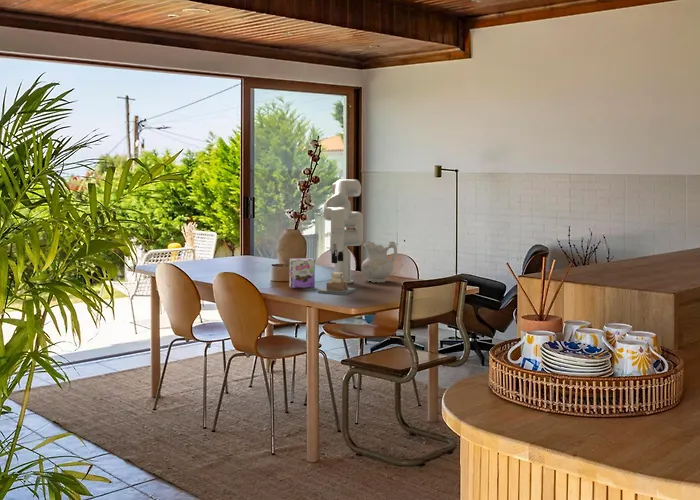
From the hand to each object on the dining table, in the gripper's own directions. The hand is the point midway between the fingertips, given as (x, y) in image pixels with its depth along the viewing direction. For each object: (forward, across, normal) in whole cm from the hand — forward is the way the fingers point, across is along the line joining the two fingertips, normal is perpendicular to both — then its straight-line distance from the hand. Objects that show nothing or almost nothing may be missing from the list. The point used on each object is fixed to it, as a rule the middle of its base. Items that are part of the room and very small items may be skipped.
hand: (337, 262), depth 461 cm
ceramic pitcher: (+18, -52, +8) cm, 56 cm away
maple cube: (+11, +1, 0) cm, 11 cm away
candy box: (+17, -9, -25) cm, 31 cm away
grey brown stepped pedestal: (+16, +1, 0) cm, 17 cm away
